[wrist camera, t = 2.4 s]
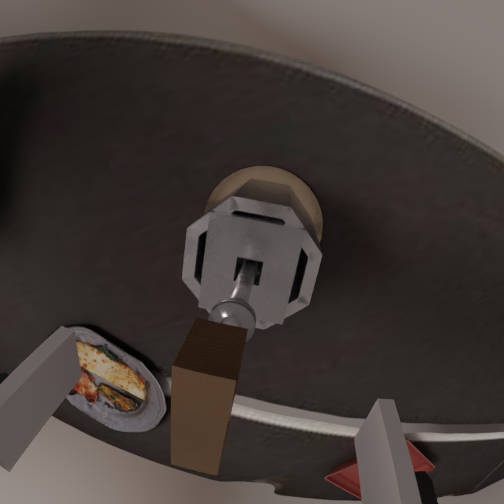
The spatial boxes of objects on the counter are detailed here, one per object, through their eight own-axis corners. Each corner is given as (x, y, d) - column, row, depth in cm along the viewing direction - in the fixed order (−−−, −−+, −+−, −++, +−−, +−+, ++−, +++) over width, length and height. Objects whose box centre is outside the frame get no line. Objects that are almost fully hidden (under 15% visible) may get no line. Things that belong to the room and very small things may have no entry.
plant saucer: (433, 457, 51) (436, 468, 48) (363, 491, 56) (364, 502, 53) (402, 425, 48) (406, 438, 45) (322, 465, 53) (322, 478, 50)
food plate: (44, 376, 53) (35, 386, 50) (58, 296, 46) (46, 305, 43) (145, 438, 56) (140, 450, 53) (187, 375, 48) (182, 389, 45)
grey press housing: (197, 275, 42) (157, 336, 28) (213, 156, 36) (170, 164, 23) (305, 296, 41) (311, 369, 27) (333, 178, 36) (360, 200, 22)
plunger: (208, 284, 29) (119, 452, 12) (218, 209, 27) (99, 331, 9) (284, 299, 29) (272, 489, 11) (301, 225, 27) (322, 382, 9)
